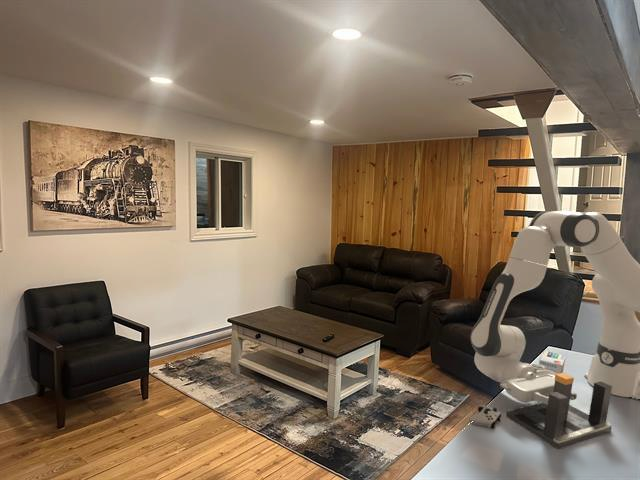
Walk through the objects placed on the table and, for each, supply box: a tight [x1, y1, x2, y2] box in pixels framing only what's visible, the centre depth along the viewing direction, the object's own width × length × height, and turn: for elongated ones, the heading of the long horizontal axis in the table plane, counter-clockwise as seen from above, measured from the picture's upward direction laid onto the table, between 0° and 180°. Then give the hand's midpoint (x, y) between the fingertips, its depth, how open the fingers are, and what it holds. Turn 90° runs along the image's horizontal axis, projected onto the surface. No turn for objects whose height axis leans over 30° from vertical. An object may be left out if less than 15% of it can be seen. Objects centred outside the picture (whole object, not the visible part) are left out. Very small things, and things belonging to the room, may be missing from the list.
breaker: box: [553, 372, 575, 421], centre depth 119 cm, size 3×3×12 cm
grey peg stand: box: [505, 382, 613, 450], centre depth 119 cm, size 22×16×12 cm
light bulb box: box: [538, 350, 567, 374], centre depth 141 cm, size 11×7×11 cm, turn 146°
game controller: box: [468, 405, 502, 430], centre depth 119 cm, size 10×5×6 cm
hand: (564, 400), depth 118 cm, fingers open, 8 cm apart
